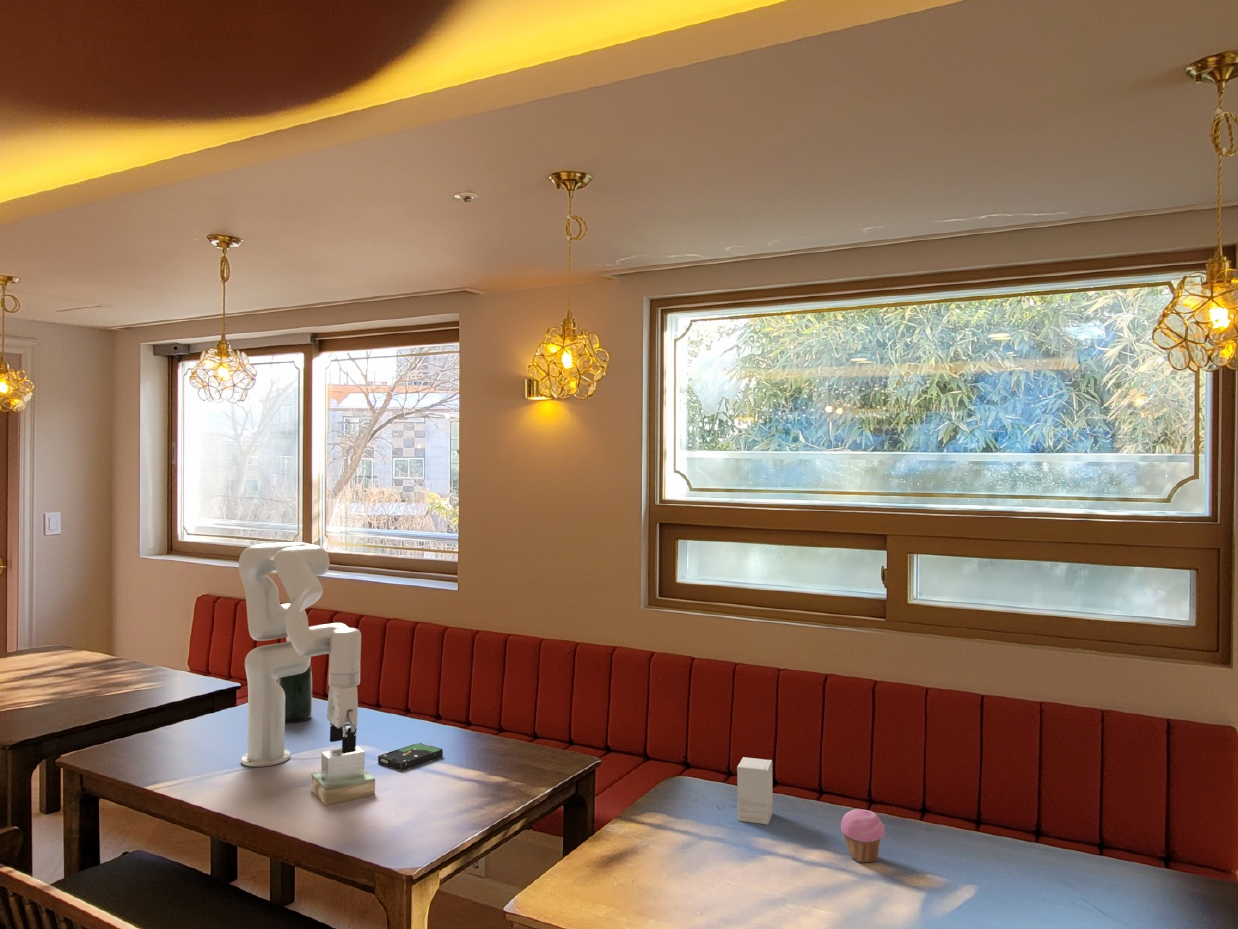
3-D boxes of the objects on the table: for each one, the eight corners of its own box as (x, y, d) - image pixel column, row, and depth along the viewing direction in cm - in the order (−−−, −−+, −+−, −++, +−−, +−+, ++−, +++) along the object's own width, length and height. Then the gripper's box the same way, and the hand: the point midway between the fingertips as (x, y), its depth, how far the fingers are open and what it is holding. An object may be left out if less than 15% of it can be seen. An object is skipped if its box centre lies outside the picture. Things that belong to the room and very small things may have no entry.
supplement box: (773, 813, 195) (773, 759, 195) (768, 825, 188) (768, 770, 188) (742, 809, 197) (742, 756, 198) (736, 821, 190) (736, 766, 191)
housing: (357, 769, 211) (357, 745, 211) (364, 775, 206) (364, 751, 206) (321, 776, 205) (321, 752, 205) (327, 783, 201) (328, 758, 201)
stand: (311, 790, 207) (311, 774, 207) (358, 780, 214) (359, 764, 214) (325, 805, 197) (326, 788, 197) (374, 794, 204) (375, 778, 204)
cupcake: (892, 865, 169) (893, 816, 169) (855, 871, 166) (856, 821, 166) (868, 847, 177) (868, 800, 177) (832, 852, 175) (832, 804, 175)
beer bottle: (318, 715, 272) (319, 615, 272) (299, 724, 262) (300, 620, 262) (290, 713, 274) (292, 614, 275) (270, 722, 264) (271, 619, 265)
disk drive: (401, 774, 221) (443, 758, 233) (401, 763, 221) (443, 748, 233) (377, 766, 227) (419, 751, 239) (377, 755, 227) (419, 741, 239)
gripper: (319, 672, 211) (317, 739, 211) (340, 688, 197) (338, 759, 197) (348, 669, 215) (346, 734, 215) (370, 684, 201) (369, 754, 201)
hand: (342, 746), depth 206 cm, fingers open, 9 cm apart
